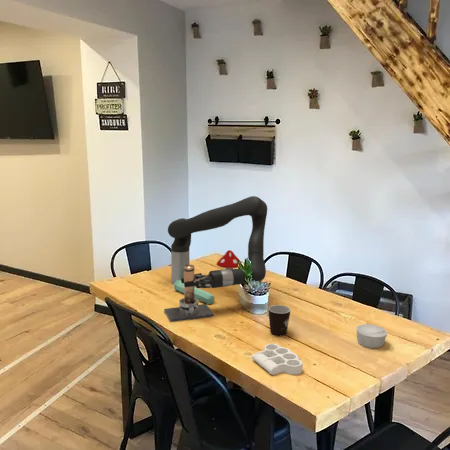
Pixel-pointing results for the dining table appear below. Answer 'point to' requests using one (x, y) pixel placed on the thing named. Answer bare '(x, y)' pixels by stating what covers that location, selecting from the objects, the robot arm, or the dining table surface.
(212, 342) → the dining table surface
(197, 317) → the stove plate
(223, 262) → the decorative mushroom
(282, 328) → the coffee mug
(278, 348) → the grey compartment tray
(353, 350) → the dining table surface
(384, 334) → the ramekin
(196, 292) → the container
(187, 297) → the metal tube
